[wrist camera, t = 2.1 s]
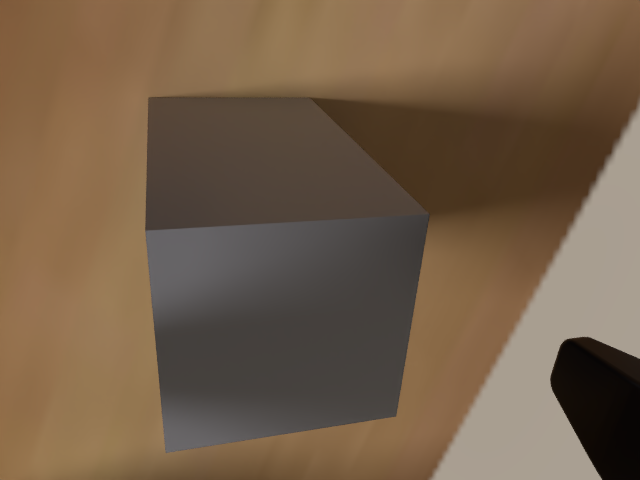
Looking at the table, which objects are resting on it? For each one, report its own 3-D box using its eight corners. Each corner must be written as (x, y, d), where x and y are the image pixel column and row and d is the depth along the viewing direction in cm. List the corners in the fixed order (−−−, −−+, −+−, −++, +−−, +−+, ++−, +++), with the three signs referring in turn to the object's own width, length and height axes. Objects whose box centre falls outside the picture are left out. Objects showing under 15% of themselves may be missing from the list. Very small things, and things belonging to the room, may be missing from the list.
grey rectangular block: (302, 235, 18) (395, 416, 11) (160, 244, 17) (165, 452, 10) (309, 97, 16) (429, 214, 9) (148, 97, 15) (145, 230, 8)
